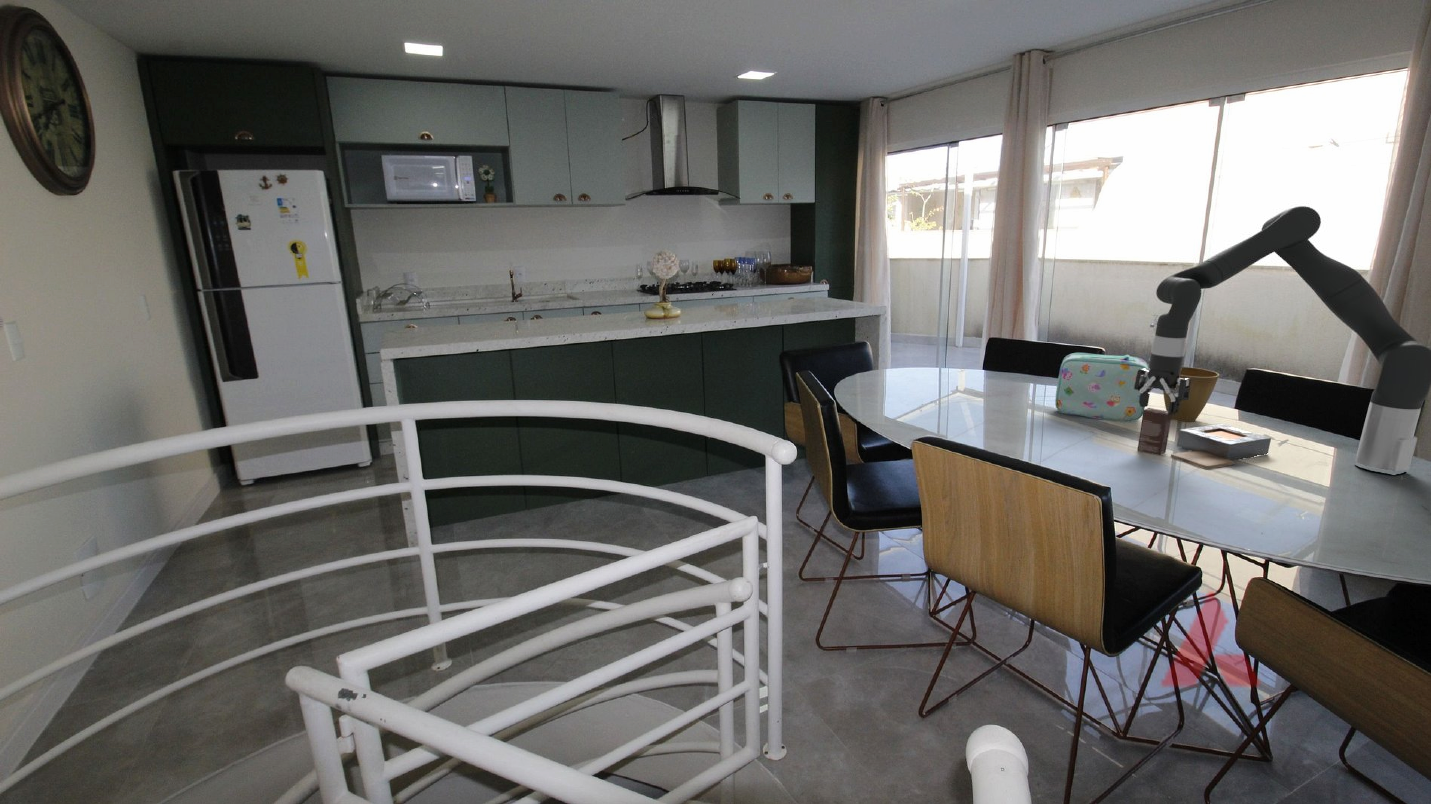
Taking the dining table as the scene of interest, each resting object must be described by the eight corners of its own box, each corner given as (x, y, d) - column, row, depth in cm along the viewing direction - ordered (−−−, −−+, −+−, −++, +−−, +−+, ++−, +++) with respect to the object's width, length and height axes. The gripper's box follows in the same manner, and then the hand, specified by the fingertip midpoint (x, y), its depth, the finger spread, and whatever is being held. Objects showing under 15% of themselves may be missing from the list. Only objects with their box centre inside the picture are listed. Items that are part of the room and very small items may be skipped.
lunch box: (1145, 417, 220) (1156, 353, 214) (1146, 426, 211) (1157, 359, 205) (1055, 407, 233) (1062, 346, 227) (1052, 414, 224) (1060, 352, 219)
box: (1166, 452, 187) (1173, 411, 184) (1160, 456, 184) (1167, 414, 181) (1142, 447, 191) (1148, 407, 188) (1136, 450, 189) (1142, 409, 185)
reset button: (1241, 442, 185) (1242, 437, 185) (1226, 444, 184) (1227, 439, 183) (1219, 436, 191) (1220, 431, 190) (1204, 438, 189) (1205, 433, 189)
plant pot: (1144, 416, 221) (1152, 369, 217) (1172, 410, 227) (1180, 364, 223) (1191, 428, 208) (1200, 378, 204) (1220, 422, 214) (1229, 373, 210)
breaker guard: (1267, 455, 184) (1271, 437, 183) (1226, 462, 179) (1229, 443, 178) (1216, 440, 197) (1219, 423, 196) (1176, 446, 192) (1179, 428, 191)
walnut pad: (1233, 464, 177) (1234, 461, 177) (1206, 469, 174) (1207, 466, 174) (1197, 452, 186) (1197, 450, 186) (1170, 456, 183) (1171, 454, 183)
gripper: (1203, 356, 175) (1192, 416, 179) (1153, 347, 188) (1144, 402, 192) (1182, 358, 173) (1171, 418, 177) (1133, 349, 186) (1124, 405, 190)
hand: (1157, 410), depth 185 cm, fingers open, 8 cm apart
